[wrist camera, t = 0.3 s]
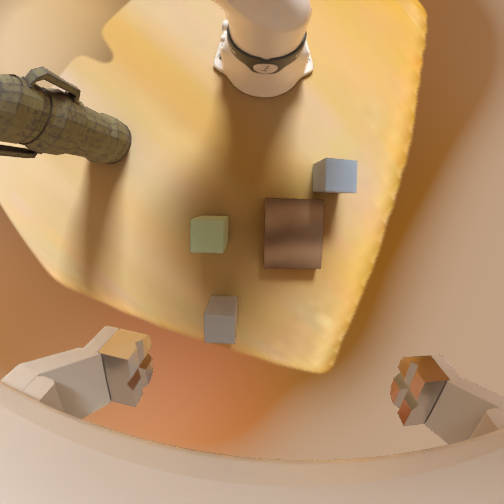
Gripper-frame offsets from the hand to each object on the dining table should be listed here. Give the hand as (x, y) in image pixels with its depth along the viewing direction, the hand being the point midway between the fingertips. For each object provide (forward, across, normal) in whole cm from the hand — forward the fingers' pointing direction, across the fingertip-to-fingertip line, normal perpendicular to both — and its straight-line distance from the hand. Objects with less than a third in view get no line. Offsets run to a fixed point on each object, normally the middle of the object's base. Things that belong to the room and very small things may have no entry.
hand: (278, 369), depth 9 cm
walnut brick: (+47, -4, +4) cm, 48 cm away
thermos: (+46, +32, -11) cm, 57 cm away
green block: (+46, +10, +5) cm, 48 cm away
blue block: (+48, -10, -6) cm, 49 cm away
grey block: (+45, +7, +20) cm, 50 cm away
